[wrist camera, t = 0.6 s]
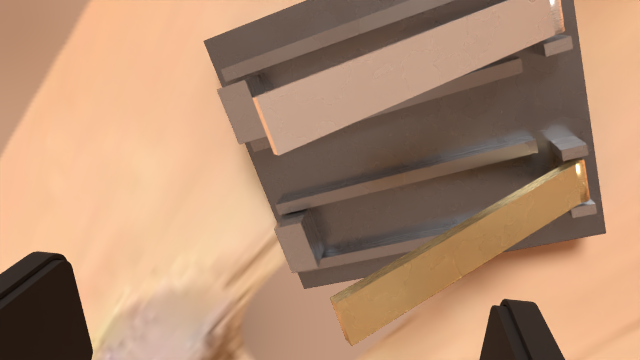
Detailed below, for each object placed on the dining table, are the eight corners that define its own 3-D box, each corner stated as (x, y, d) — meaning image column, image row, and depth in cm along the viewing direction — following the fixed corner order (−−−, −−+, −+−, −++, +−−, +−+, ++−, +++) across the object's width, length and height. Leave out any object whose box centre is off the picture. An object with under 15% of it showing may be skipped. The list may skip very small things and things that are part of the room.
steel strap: (545, -15, 27) (562, -20, 25) (552, 32, 27) (569, 29, 26) (251, 97, 20) (257, 97, 19) (272, 153, 21) (279, 156, 20)
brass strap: (572, 157, 30) (588, 159, 29) (577, 193, 31) (593, 197, 30) (328, 296, 24) (337, 305, 23) (344, 337, 25) (353, 347, 24)
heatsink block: (539, -86, 29) (579, -115, 23) (585, 211, 36) (626, 254, 30) (223, 38, 37) (184, 43, 30) (312, 265, 44) (296, 310, 37)
